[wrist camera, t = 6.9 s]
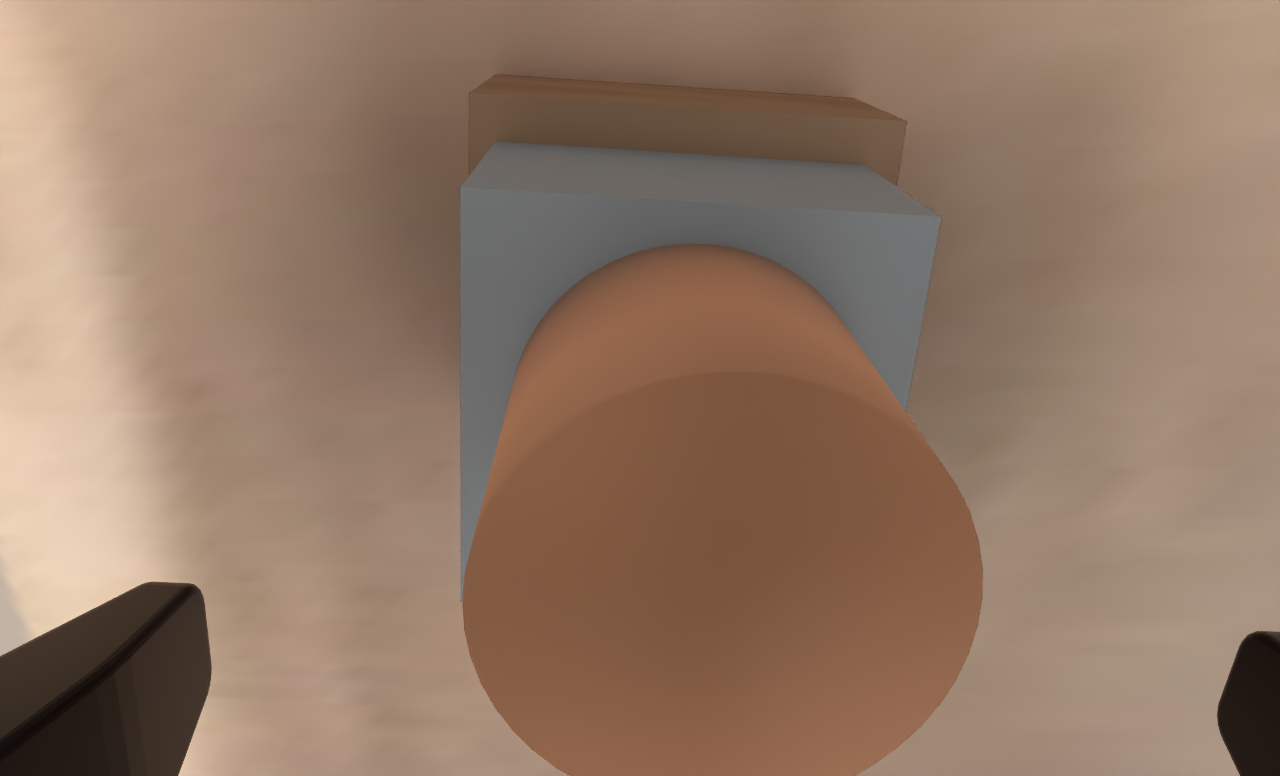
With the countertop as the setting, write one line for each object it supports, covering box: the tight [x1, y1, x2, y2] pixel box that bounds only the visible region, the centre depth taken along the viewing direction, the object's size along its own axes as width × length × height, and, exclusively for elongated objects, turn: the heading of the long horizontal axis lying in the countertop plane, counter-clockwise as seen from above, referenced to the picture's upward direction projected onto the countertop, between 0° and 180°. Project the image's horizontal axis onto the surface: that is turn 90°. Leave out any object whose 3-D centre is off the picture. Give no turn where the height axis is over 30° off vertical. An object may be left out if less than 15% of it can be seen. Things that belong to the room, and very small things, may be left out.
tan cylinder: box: [462, 244, 983, 776], centre depth 11 cm, size 5×5×4 cm
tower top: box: [460, 141, 941, 601], centre depth 15 cm, size 6×6×4 cm
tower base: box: [469, 75, 907, 186], centre depth 19 cm, size 7×7×4 cm
